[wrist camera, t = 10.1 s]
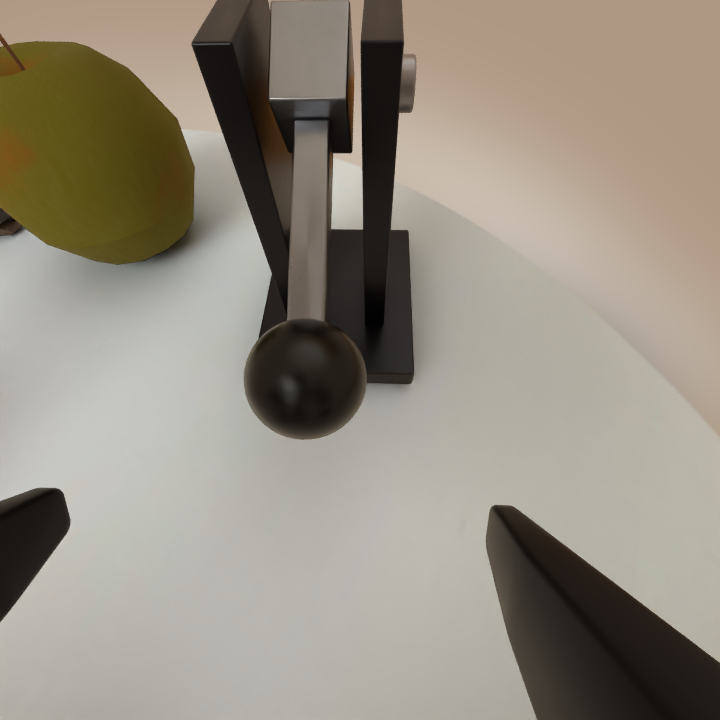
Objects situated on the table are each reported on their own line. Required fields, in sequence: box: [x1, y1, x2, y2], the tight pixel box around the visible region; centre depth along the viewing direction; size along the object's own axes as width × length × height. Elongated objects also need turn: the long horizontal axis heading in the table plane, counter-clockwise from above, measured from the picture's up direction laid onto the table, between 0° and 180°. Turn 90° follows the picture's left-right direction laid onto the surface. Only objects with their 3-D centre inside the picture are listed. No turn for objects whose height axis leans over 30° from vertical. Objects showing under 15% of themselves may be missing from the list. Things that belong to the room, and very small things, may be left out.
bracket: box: [192, 0, 416, 384], centre depth 15 cm, size 10×8×13 cm
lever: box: [244, 0, 367, 440], centre depth 10 cm, size 12×4×4 cm, turn 178°
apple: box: [0, 34, 195, 265], centre depth 19 cm, size 10×10×11 cm
